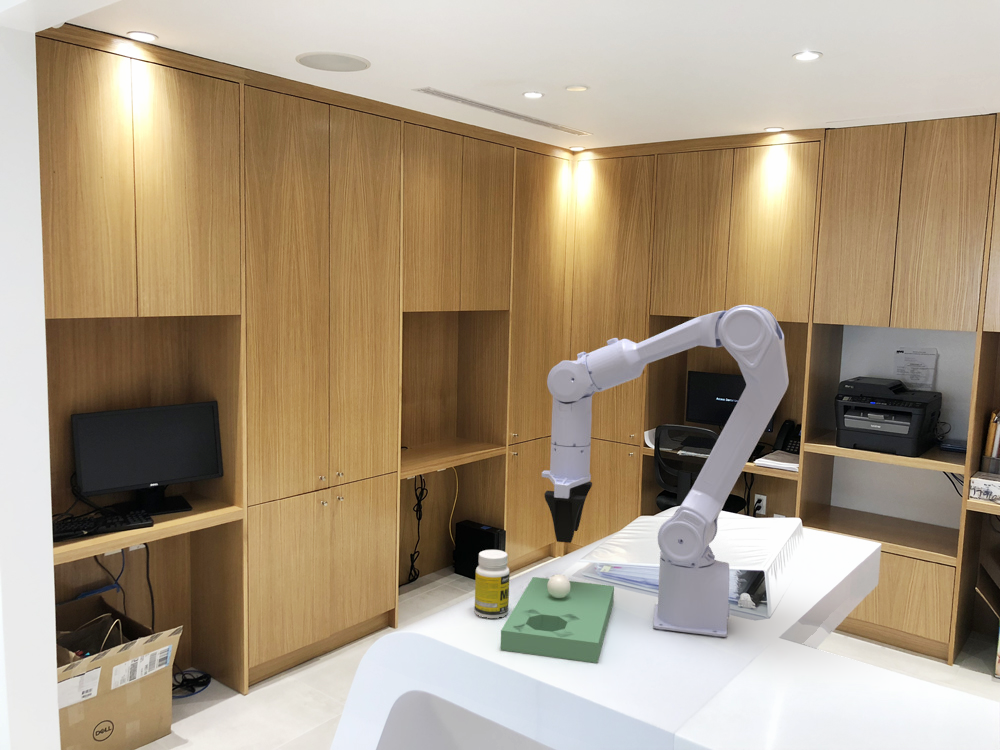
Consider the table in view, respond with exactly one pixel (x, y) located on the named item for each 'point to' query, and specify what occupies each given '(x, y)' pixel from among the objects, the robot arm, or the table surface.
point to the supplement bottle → (492, 584)
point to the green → (559, 621)
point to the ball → (558, 586)
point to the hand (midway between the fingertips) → (567, 535)
